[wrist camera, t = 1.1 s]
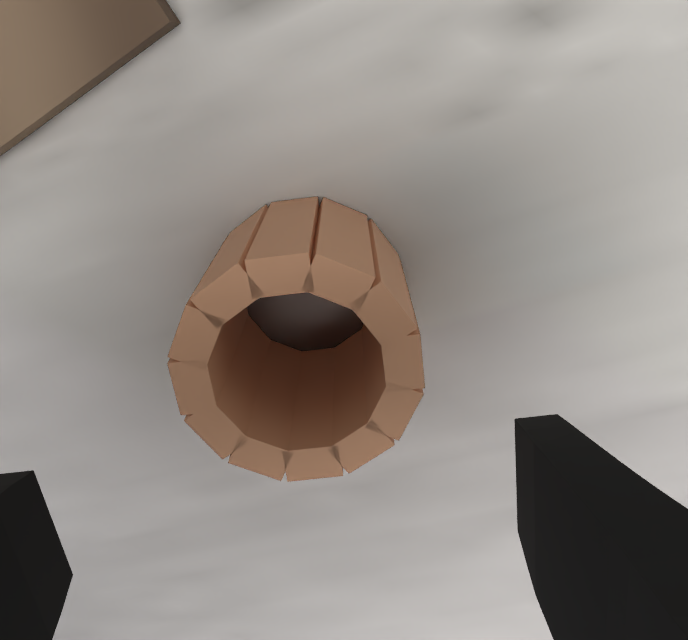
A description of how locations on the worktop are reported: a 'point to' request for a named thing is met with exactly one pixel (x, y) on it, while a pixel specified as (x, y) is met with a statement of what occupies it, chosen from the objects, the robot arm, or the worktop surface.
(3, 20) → the holder
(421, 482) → the worktop surface
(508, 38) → the worktop surface
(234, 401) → the tube
